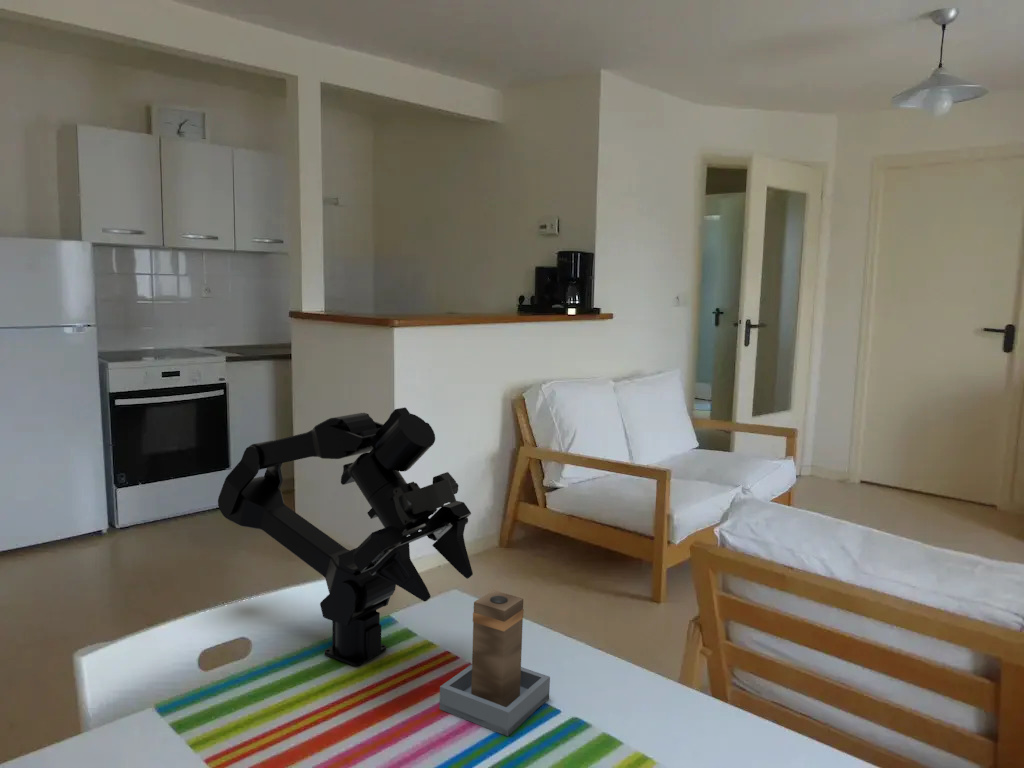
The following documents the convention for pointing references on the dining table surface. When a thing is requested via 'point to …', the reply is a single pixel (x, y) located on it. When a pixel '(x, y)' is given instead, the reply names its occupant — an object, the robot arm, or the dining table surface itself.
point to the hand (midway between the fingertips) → (449, 587)
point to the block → (497, 647)
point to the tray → (491, 714)
